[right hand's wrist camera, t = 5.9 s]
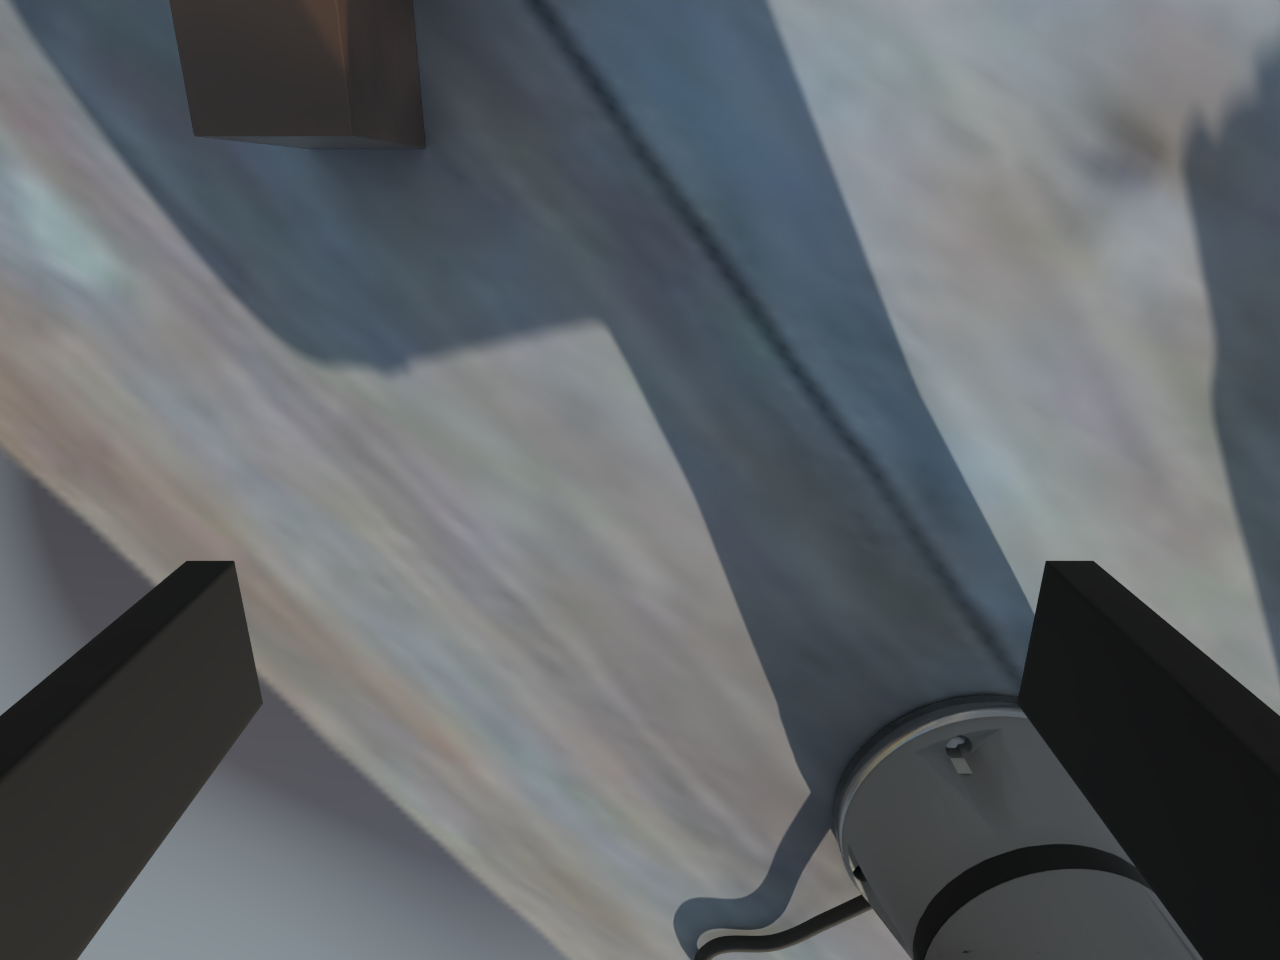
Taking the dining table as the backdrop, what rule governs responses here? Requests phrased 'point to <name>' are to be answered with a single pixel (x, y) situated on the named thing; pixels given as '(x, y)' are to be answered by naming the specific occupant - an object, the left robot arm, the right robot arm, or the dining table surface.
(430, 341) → the dining table surface
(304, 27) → the walnut beam
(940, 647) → the dining table surface
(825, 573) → the dining table surface
